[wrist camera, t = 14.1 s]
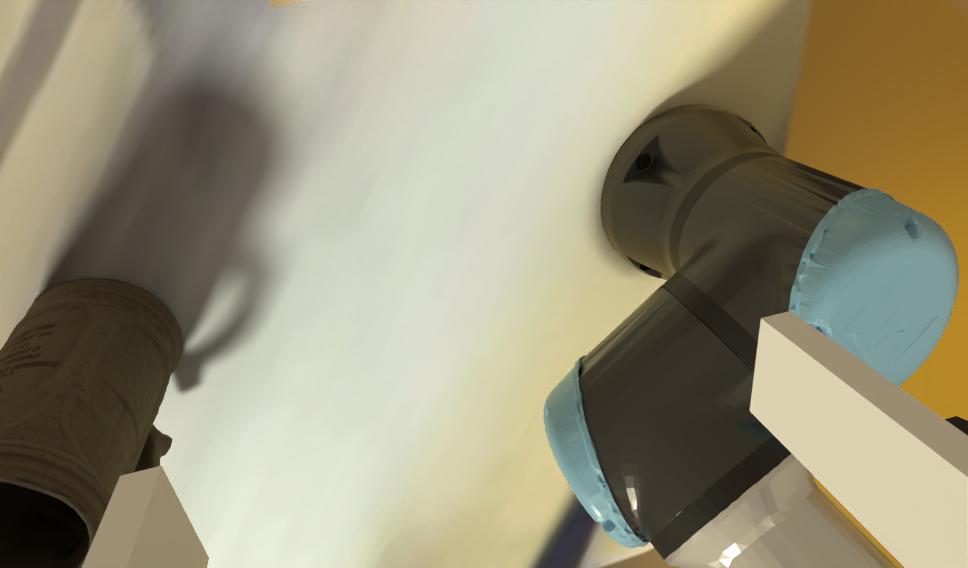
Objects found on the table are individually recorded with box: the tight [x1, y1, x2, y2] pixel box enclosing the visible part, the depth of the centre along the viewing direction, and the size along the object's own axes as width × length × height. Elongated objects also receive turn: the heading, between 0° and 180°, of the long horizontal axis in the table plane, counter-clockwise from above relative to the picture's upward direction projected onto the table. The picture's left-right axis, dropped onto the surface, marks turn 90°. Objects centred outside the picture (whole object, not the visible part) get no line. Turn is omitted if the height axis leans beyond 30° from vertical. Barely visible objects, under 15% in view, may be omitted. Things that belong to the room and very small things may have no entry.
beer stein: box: [0, 279, 182, 568], centre depth 39 cm, size 15×11×20 cm
